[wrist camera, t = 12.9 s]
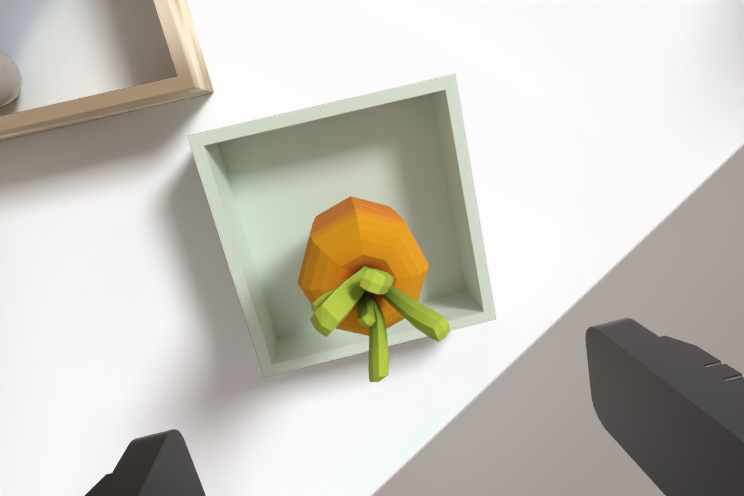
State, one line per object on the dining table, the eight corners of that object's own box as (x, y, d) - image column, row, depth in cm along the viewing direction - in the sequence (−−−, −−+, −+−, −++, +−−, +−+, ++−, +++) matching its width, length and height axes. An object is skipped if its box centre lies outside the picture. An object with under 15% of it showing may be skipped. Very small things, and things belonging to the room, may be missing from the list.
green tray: (206, 133, 26) (187, 135, 23) (436, 80, 27) (455, 73, 23) (271, 344, 30) (264, 377, 26) (474, 294, 30) (496, 319, 27)
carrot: (411, 211, 28) (500, 309, 14) (358, 277, 29) (390, 436, 14) (342, 158, 27) (360, 202, 12) (290, 228, 28) (248, 346, 13)
